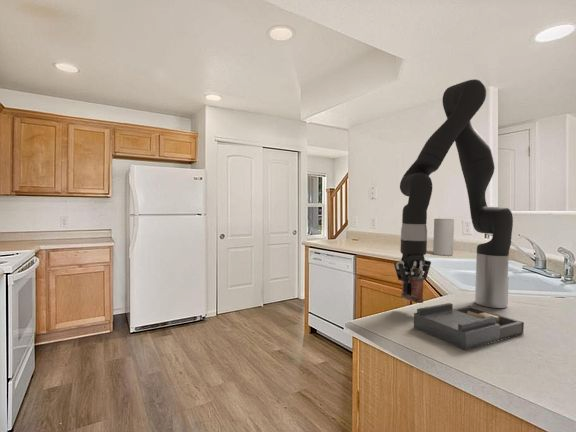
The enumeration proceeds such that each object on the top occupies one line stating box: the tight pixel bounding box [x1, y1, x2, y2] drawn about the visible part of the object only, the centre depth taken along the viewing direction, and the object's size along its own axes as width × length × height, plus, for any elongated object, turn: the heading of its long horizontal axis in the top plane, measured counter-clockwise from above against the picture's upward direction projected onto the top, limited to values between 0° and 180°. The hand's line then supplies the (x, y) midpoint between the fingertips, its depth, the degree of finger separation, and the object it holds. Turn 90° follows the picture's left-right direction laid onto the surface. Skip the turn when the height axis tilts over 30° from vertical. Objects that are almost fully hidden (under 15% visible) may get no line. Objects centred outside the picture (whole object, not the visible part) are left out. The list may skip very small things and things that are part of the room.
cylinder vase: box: [432, 218, 455, 257], centre depth 226 cm, size 12×12×25 cm
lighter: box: [400, 268, 425, 304], centre depth 100 cm, size 8×3×10 cm, turn 21°
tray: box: [453, 305, 525, 341], centre depth 89 cm, size 10×15×3 cm
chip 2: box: [479, 312, 499, 324], centre depth 90 cm, size 4×4×2 cm
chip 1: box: [467, 311, 486, 319], centre depth 87 cm, size 4×4×2 cm
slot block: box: [413, 302, 500, 351], centre depth 84 cm, size 13×15×6 cm
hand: (411, 293), depth 100 cm, fingers closed on lighter, 3 cm apart
